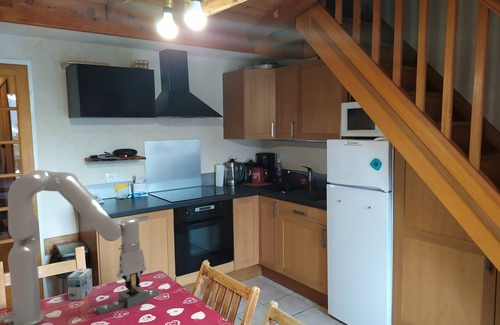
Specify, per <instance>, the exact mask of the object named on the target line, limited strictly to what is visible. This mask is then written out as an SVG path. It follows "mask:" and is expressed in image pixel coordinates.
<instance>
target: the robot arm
mask: <svg viewBox="0 0 500 325" xmlns="http://www.w3.org/2000/svg"><path fill="white" fill-rule="evenodd" d="M42 191H45V192H57V193H59V195H61V197H63V198H64V200H66V201H67V202H68V203H69V204H70V205H71V206H72V207H73V208H74V209H75V210H76V211H77V212H78V213H79V214H80V215H81V217H82V218H83V219H84V220H85V221H86V222H87V223H88V224H89V225H90V226H91V228H93V229H94V231H95V232H97V234H99V236H101V237H102V239H104V240H105V241H109V242H114V241H117V240H118V239H120V238H121V244H120V246H118V250H120V252H119V253H120V254H119V263H118V264H119V265H118V268H119V269H118V273H117V274H116V277H117V278H120V279H123V280H125V288H126V290H131V281H130V279H129V278H130V274H134V273H136V283H137V287H139V288H140V285H141V280H140V279H141V277H142V274H143V273H144V272H145V271H146V270H147V267H146V264H145V257H144V256H145V255H144V250H143V248H142V247H141V246H140V245H141V244H140V243H141V242H140V224H139V223H140V222H139V220H138V218H135V217H128V218H123V219H120V218H119V219H117V218H112V217H110V216H109V214H108V213H107V212H106V211H105V210H104V208H103V207H102V206H101V203H100V201H98V199H97V198H96V197H95V196H94V195H93V194H92V193H91V192H90V191H89V190H88V189H87V187H85V186H84V185H83V183H81V182H80V181H79V178H78V176H76V175H75V174H74V173H72V172H65V171H64V172H63V171H51V170H44V169H43V170H42V169H35V170H33V171H30V172H27V173H25V174H24V175H22V176H20V177H19V178H17V179H16V180H15V181H13V183H12V184H11V185H10V187H9V189H8V192H7V219H8V226H7V227H8V233H9V236H10V238H12V240H13V241H12V242H13V246H12V247H11V249H10V251H9V253H8V257H7V264H8V271H9V278H10V292H11V308H12V310H10V313H8V314H7V315H6V316H2V317H0V324H2V323H3V324H7V323H8V325H38V324H39V323H41V322H42V321H43V320H45V318H46V313H45V312H44V311H43V310H41V307H42V306H41V295H40V294H41V293H40V291H41V290H40V279H39V278H40V277H39V268H38V256H39V253H40V250H41V243H40V242H41V241H40V238H41V237H40V222H39V219H38V217H37V215H35V213H34V200H33V199H34V196H35V195H36V194H38V193H41V192H42Z"/></svg>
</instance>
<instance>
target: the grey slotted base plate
mask: <svg viewBox="0 0 500 325" xmlns="http://www.w3.org/2000/svg"><path fill="white" fill-rule="evenodd" d="M159 293H160V292H159V291H158V290H157V289H155V288H153V289H148V290H143V289H142V288H140V286H139V287H137V292H136V293H133V294H131V293H129V289H125V290H123V291H120V292H118V300H114V301H112V302H109V303H107V304H102V305H100V306H97V307H95V312H96V313H97V314H98V315H99V316H101V315H105V314H107V313H109V312H112V311H116V310H119V309H121V308H125V307H126V309H130V308H132V307H135V306H137V305H141V304H143V303H147V302H148V299H152V298H154V297H157V296H159V295H160V294H159Z"/></svg>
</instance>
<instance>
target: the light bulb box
mask: <svg viewBox="0 0 500 325" xmlns="http://www.w3.org/2000/svg"><path fill="white" fill-rule="evenodd" d="M66 279H67V293H68V294H67V295H68V300H74V301H77V300H79V301H80V300H81V301H82V300H84V299H85V298H86V297H87V296H88V295H89V294H91V293H92V292H93V291H92V290H93V272H92V268H78V269H76V270H74V271H73V272H72V273H70V274H69V275H67V278H66ZM91 291H92V292H91Z"/></svg>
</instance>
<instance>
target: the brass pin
mask: <svg viewBox="0 0 500 325" xmlns="http://www.w3.org/2000/svg"><path fill="white" fill-rule="evenodd" d="M129 279H130V281H131V290H129V289H128V290H129V293H131V294H133V293H136V292H137V283H136V273H134V274H130V278H129Z"/></svg>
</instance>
